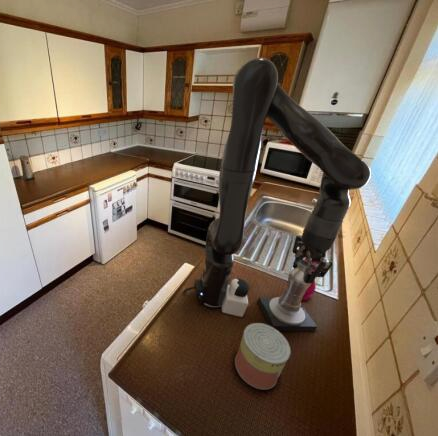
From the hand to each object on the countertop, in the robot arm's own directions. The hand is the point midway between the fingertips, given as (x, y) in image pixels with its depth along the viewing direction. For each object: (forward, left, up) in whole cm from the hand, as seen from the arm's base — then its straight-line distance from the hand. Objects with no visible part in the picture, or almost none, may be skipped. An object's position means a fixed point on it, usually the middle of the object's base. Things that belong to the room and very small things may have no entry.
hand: (301, 274), depth 74 cm
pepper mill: (+11, +10, -19) cm, 24 cm away
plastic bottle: (0, 0, -16) cm, 16 cm away
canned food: (-17, -18, -19) cm, 31 cm away
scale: (0, 0, -19) cm, 19 cm away
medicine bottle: (-17, +3, -19) cm, 26 cm away
